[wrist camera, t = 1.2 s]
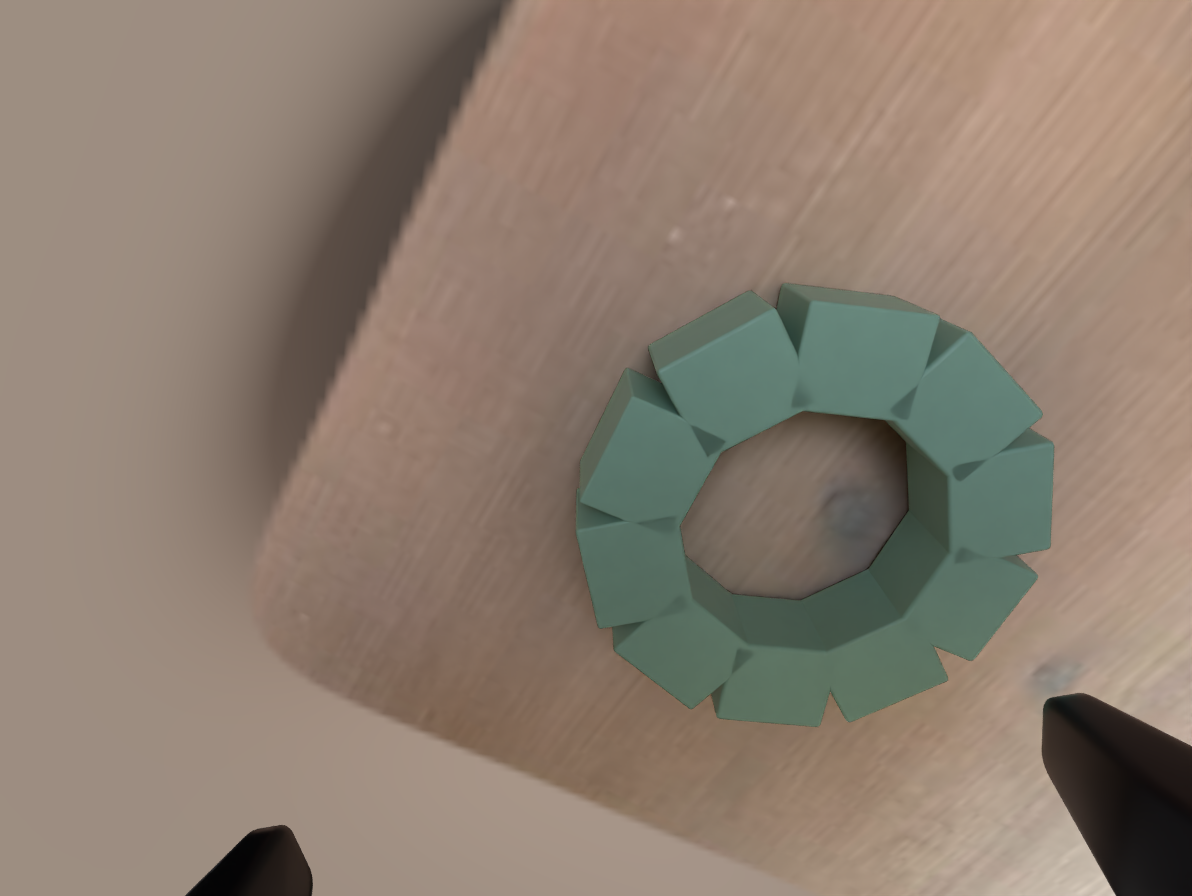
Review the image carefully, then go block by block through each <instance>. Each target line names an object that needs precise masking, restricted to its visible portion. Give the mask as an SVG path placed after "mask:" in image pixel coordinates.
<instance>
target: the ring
mask: <svg viewBox="0 0 1192 896" xmlns="http://www.w3.org/2000/svg"><path fill="white" fill-rule="evenodd" d="M648 350H649V353H650V356H651V358H652V361H653V364H654V367H655V370H656V373H657V375H658V377H659V379H660V381H661V382H662V383H660V382H658V381H656V380H654V379H651V378H649V377H647V376H645V375H643V374H640V373H638V372H636V371H634V370H631V369H629V368H626V369H625V370H624V372H623V374H622V376H621V378H620V380H619V382H618V385H617V387H616V389H615V391H614V393H613V395H612V397H611V399H610V401H609V403H608V405H607V407H606V409H605V411H604V413H603V415H602V417H601V419H600V421H599V423H598V425H597V427H596V429H595V431H594V434H593V436H592V438H591V440H590V442H589V444H588V446H587V448H586V450H585V452H584V454H583V456H582V458H581V460H580V488H578V489H577V491H576V536H577V540H578V544H579V549H580V553H581V557H582V561H583V566H584V570H585V574H586V578H587V583H588V587H589V591H590V595H591V600H592V604H593V608H594V613H595V617H596V621H597V625H598V627H599V628H600V629H602V628H608V627H612V631H613V647H614V651H615V652H616V653H617V654H619V655H620V656H621V657H623V658H624V659H625V660H627V661H628V662H629V663H630V664H632V665H633V666H634V667H636V668H637V669H638V670H640V671H641V672H642V673H644V674H645V675H646V676H647V677H649V678H650V679H651V680H653V681H654V682H655V683H657V684H658V685H659V686H661V687H662V688H663V689H665V690H666V691H667V692H668V693H670V694H671V695H672V696H674V697H675V698H676V699H678V700H679V701H680V702H682V703H683V704H684V705H685V706H687V707H688V708H689V709H693V708H694V707H695V706H697V705H698V704H699V703H700V702H701V701H703V700H704V699H705V698H706V697H707V696H709V695H710V694H711V696H712V700H713V704H714V708H715V712H716V716H717V718H719V719H727V720H739V721H751V722H763V723H775V724H787V725H799V726H811V727H818V726H820V724H821V721H822V717H823V714H824V710H825V707H826V704H827V700H828V697H829V693H830V692H831V694H832V696H833V697H834V699H835V701H836V703H837V705H838V707H839V708H840V710H841V712H842V714H843V716H844V718H845V719H846V721H848V722H852V721H855V720H857V719H859V718H862V717H864V716H866V715H869V714H871V713H873V712H876V711H878V710H880V709H883V708H885V707H887V706H890V705H892V704H895V703H897V702H899V701H902V700H904V699H906V698H909V697H911V696H913V695H916V694H918V693H920V692H923V691H925V690H927V689H930V688H932V687H934V686H937V685H939V684H941V683H944V682H946V681H947V680H948V676H947V674H946V672H945V670H944V667H943V665H942V663H941V661H940V659H939V657H938V655H937V652H936V650H935V648H934V646H935V647H937V648H940V649H942V650H944V651H947V652H949V653H952V654H954V655H957V656H959V657H962V658H964V659H966V660H969V661H973V660H974V659H975V658H976V657H977V655H978V654H979V653H980V652H981V650H982V649H983V648H984V646H985V645H986V644H987V643H988V641H989V640H990V639H991V637H992V636H993V635H994V634H995V632H996V631H997V630H998V629H999V627H1000V626H1001V625H1002V623H1003V622H1004V621H1005V620H1006V618H1007V617H1008V616H1009V615H1010V613H1011V612H1012V611H1013V609H1014V608H1015V607H1016V606H1017V604H1018V603H1019V602H1020V600H1021V599H1022V598H1023V597H1024V595H1025V594H1026V593H1027V592H1028V590H1029V589H1030V588H1031V586H1032V585H1033V584H1034V583H1035V581H1036V580H1037V578H1038V575H1037V574H1036V572H1034V571H1033V570H1032V569H1031V568H1030V567H1029V566H1028V565H1027V564H1026V563H1025V562H1023V561H1022V560H1021V559H1020V558H1019V557H1018V556H1017V555H1019V554H1025V553H1031V552H1036V551H1042V550H1047V549H1049V548H1050V546H1051V520H1052V494H1053V468H1054V444H1053V442H1052V441H1050V440H1048V439H1047V438H1045V437H1043V436H1042V435H1040V434H1038V433H1037V432H1035V431H1033V430H1031V429H1030V427H1031V426H1032V425H1033V424H1034V423H1036V422H1037V421H1038V420H1039V419H1040V418H1041V417H1042V416H1043V413H1042V411H1041V409H1040V408H1039V407H1038V406H1037V405H1036V404H1035V403H1034V402H1033V400H1032V399H1031V398H1030V397H1029V396H1028V395H1027V394H1026V393H1025V392H1024V390H1023V389H1022V388H1021V387H1020V386H1019V385H1018V384H1017V383H1016V381H1015V380H1014V379H1013V378H1012V377H1011V376H1010V375H1009V374H1008V373H1007V371H1006V370H1005V369H1004V368H1003V367H1002V366H1001V365H1000V364H999V362H998V361H997V360H996V359H995V358H994V357H993V356H992V355H991V354H990V352H989V351H988V350H987V349H986V348H985V347H984V346H983V345H982V343H981V342H980V341H979V340H978V339H977V338H976V337H975V336H974V334H973V333H972V332H970V331H967V330H965V329H963V328H960V327H958V326H956V325H953V324H951V323H949V322H947V321H944V320H942V319H940V316H939V315H937V314H935V313H933V312H930V311H928V310H925V309H923V308H921V307H918V306H916V305H914V304H911V303H909V302H907V301H904V300H902V299H900V298H897V297H895V296H889V295H881V294H872V293H864V292H856V291H847V290H839V289H831V288H823V287H814V286H806V285H798V284H789V283H784V284H782V286H781V290H780V295H779V300H778V304H777V309H775V308H774V307H773V306H771V305H770V304H769V303H767V302H766V301H765V300H763V299H762V298H761V297H759V296H758V295H757V294H755V293H754V292H753V291H747V292H745V293H743V294H741V295H740V296H738V297H736V298H734V299H732V300H730V301H729V302H727V303H725V304H723V305H721V306H719V307H718V308H716V309H714V310H712V311H710V312H708V313H707V314H705V315H703V316H701V317H699V318H697V319H696V320H694V321H692V322H690V323H688V324H686V325H685V326H683V327H681V328H679V329H677V330H675V331H674V332H672V333H670V334H668V335H666V336H664V337H663V338H661V339H659V340H657V341H655V342H653V343H652V344H650V345H649V346H648ZM802 411H806V412H816V413H825V414H834V415H843V416H852V417H861V418H870V419H879V420H885V421H886V422H887V423H888V424H889V425H890V426H891V427H892V428H893V429H894V430H895V431H896V432H897V433H898V434H899V435H900V436H901V437H902V438H903V439H904V440H905V441H906V452H907V475H908V498H909V511H908V512H907V514H906V515H905V516H904V518H903V519H902V521H901V522H900V524H899V525H898V527H897V528H896V530H895V531H894V533H893V534H892V535H891V537H890V538H889V540H888V541H887V543H886V544H885V546H884V547H883V549H882V550H881V552H880V553H879V554H878V556H877V557H876V559H875V560H874V562H873V563H872V565H871V566H870V568H869V569H867V570H865V571H863V572H861V573H858V574H856V575H854V576H852V577H850V578H848V579H845V580H843V581H841V582H839V583H837V584H835V585H832V586H830V587H828V588H826V589H824V590H822V591H819V592H817V593H815V594H813V595H811V596H809V597H806V598H804V599H802V600H790V599H779V598H768V597H758V596H747V595H736V594H731V593H730V592H728V591H727V590H726V589H725V588H724V587H723V586H721V585H720V584H719V583H718V582H717V581H715V580H714V579H713V578H712V577H711V576H709V575H708V574H707V573H706V572H705V571H703V570H702V569H701V568H700V567H699V566H698V565H696V564H695V563H694V562H693V561H692V560H690V559H689V558H688V557H687V556H686V555H685V552H684V546H683V541H682V535H681V529H680V525H681V523H682V521H683V520H684V518H685V516H686V514H687V512H688V511H689V509H690V507H691V505H692V504H693V502H694V500H695V498H696V496H697V495H698V493H699V491H700V489H701V488H702V486H703V484H704V482H705V480H706V479H707V477H708V475H709V473H710V472H711V470H712V468H713V466H714V464H715V463H716V461H717V459H718V457H719V456H720V454H721V452H723V451H725V450H727V449H729V448H731V447H733V446H735V445H737V444H739V443H741V442H743V441H745V440H747V439H749V438H751V437H753V436H755V435H757V434H759V433H761V432H763V431H765V430H767V429H768V428H770V427H772V426H774V425H776V424H778V423H780V422H782V421H784V420H786V419H788V418H790V417H792V416H794V415H796V414H798V413H800V412H802Z"/></svg>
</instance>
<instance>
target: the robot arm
mask: <svg viewBox="0 0 1192 896" xmlns="http://www.w3.org/2000/svg"><path fill="white" fill-rule="evenodd" d="M1042 758H1043V762H1044V765H1045V768H1046V771H1047V773H1048V775H1049V777H1050V779H1051V780H1052V782H1053V784H1054V786H1055V788H1056V789H1057V791H1058V793H1059V795H1060V797H1061V798H1062V800H1063V802H1064V804H1065V806H1066V807H1067V809H1068V811H1069V813H1070V815H1071V816H1072V818H1073V820H1074V822H1075V823H1076V825H1077V827H1078V829H1079V831H1080V832H1081V834H1082V836H1083V838H1084V840H1085V841H1086V843H1087V845H1088V847H1089V849H1090V850H1091V852H1092V854H1093V856H1094V857H1095V859H1096V861H1097V863H1098V865H1099V866H1100V868H1101V870H1102V872H1103V874H1104V875H1105V877H1106V879H1107V881H1108V883H1109V884H1110V886H1111V888H1112V890H1113V891H1114V893H1115V895H1116V896H1192V746H1190V745H1188V744H1186V743H1184V742H1182V741H1180V740H1178V739H1176V738H1174V737H1172V736H1170V735H1168V734H1166V733H1164V732H1162V731H1160V730H1158V729H1156V728H1154V727H1152V726H1150V725H1148V724H1146V723H1144V722H1142V721H1140V720H1138V719H1136V718H1134V717H1132V716H1130V715H1128V714H1126V713H1124V712H1123V711H1121V710H1119V709H1117V708H1115V707H1113V706H1111V705H1109V704H1107V703H1105V702H1103V701H1101V700H1099V699H1097V698H1095V697H1092V696H1090V695H1087V694H1084V693H1076V694H1070V695H1063V696H1057V697H1052V698H1049V699H1047V701H1046V702H1045V704H1044V708H1043V727H1042ZM312 888H313V882H312V874H311V870H310V868H309V866H308V863H307V861H306V859H305V857H304V855H303V853H302V851H301V849H300V847H299V844H298V843H297V841H296V838H295V836H294V834H293V832H292V830H291V829H290V828H288V827H287V826H285V825H278V826H272V827H266V828H260V829H256V830H253V831H252V832H250V833H249V834H247V835H246V836H245V837H244V838H243V839H242V840H241V841H240V842H239V843H238V844H237V845H236V846H235V847H234V848H233V849H232V850H231V851H230V852H229V853H228V854H227V855H226V856H225V857H224V858H223V859H222V860H221V861H220V862H219V863H218V864H217V865H216V866H215V867H214V868H213V869H212V870H211V871H210V872H209V873H208V874H207V875H206V876H205V877H204V878H203V879H202V880H201V881H199V882H198V883H197V884H196V885H195V886H194V887H193V888H192V889H191V890H190V891H189V892H188V893H187V894H186V895H185V896H312Z"/></svg>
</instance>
